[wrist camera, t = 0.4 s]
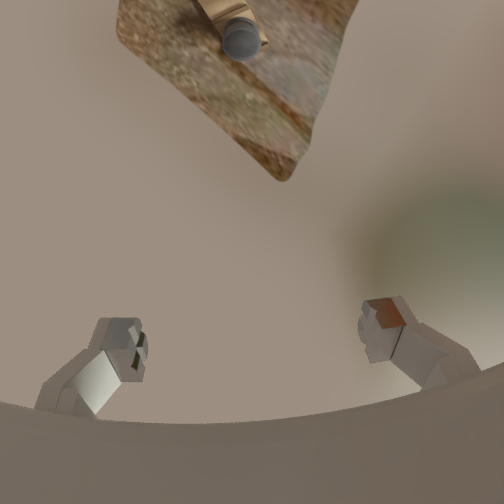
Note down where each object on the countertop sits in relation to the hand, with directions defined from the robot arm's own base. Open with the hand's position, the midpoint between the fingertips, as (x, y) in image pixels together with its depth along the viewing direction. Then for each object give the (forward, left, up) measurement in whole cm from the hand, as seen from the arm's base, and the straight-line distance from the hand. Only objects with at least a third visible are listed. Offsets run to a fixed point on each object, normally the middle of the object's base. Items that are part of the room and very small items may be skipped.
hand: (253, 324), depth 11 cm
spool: (+5, -2, -50) cm, 50 cm away
